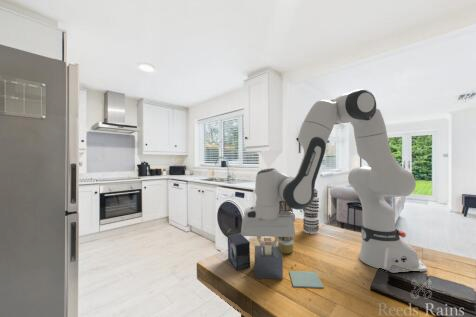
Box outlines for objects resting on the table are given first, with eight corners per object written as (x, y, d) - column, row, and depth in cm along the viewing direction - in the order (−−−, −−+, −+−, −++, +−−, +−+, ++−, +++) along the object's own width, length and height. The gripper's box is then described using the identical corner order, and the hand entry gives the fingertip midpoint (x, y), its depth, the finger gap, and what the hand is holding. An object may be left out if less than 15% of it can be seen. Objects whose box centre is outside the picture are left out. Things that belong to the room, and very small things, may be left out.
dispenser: (280, 266, 84) (279, 245, 83) (282, 279, 75) (282, 256, 74) (255, 265, 84) (254, 244, 84) (254, 278, 76) (254, 255, 75)
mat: (316, 272, 78) (316, 271, 78) (323, 288, 69) (323, 286, 69) (289, 271, 79) (289, 270, 79) (293, 286, 70) (293, 285, 70)
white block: (271, 260, 82) (270, 235, 82) (271, 267, 77) (271, 241, 77) (264, 260, 82) (264, 235, 82) (264, 267, 77) (264, 241, 77)
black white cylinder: (322, 233, 117) (322, 189, 117) (307, 234, 115) (307, 190, 115) (314, 227, 126) (313, 186, 126) (299, 229, 124) (299, 187, 124)
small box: (227, 258, 90) (226, 234, 90) (240, 255, 93) (240, 232, 93) (235, 271, 80) (235, 244, 80) (251, 267, 83) (250, 241, 83)
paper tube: (293, 254, 93) (292, 199, 92) (278, 253, 94) (277, 198, 94) (292, 248, 99) (292, 196, 99) (278, 247, 101) (277, 195, 100)
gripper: (293, 209, 81) (294, 244, 82) (241, 208, 83) (242, 243, 83) (296, 213, 75) (297, 251, 75) (240, 213, 77) (241, 250, 77)
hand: (267, 247), depth 79 cm, fingers open, 3 cm apart
